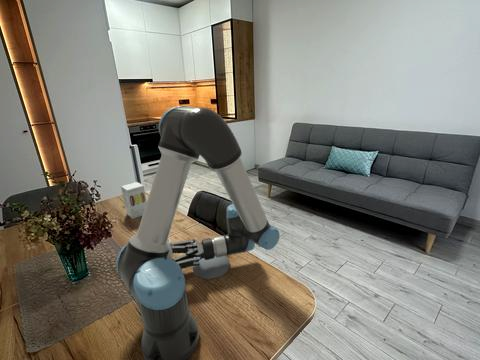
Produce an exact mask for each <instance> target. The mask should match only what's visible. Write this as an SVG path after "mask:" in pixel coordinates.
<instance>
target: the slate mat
mask: <svg viewBox="0 0 480 360" xmlns="http://www.w3.org/2000/svg"><path fill="white" fill-rule="evenodd" d="M199 263H200V265H199V266H192V272H193V274H194V275H195V276H196V277H197V278H199V279H202V280H215V279H218V278H221V277H222V276H224V275H225V274H226V273H227V272H228V270H229V269H230V260H229V257H228V256H222V257H218V258H216V256H215V257H214V259H209V260H205V259H204V258H202V259H201V260H200V261H199Z"/></svg>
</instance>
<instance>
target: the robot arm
mask: <svg viewBox="0 0 480 360" xmlns="http://www.w3.org/2000/svg"><path fill="white" fill-rule="evenodd" d="M158 132H159V135H160V140H159V143H158V146H157V147H158V149H159V151H160V154H161V157H160V159H159V162H158V165H157V169H156V172H155V175H154V179H153V181H152V185H151V188H150V192H149V194H148V198H147V199H146V201H147V204H146V207H145V210H144V213H143V216H141V221H140V223H139V226H138V230H137V233H136V234H134V235H132V236H131V237H129V240H128V243H127V244H126V245H124V246H122V248H121V249H120V250H119V252H118V255H117V257H116V268H117V272H118V275H119V277H120V279H121V280H122V281H123V283H124V285H125V286H126V288H127V290H128V291H129V292H130V294H131V296H132V298H133V299H134V302H135V304H136V305H137V307H138V310H139V313H140V316H141V320H142V325H143V329H142V330H143V331H142V336H141V341H140V342H141V343H140V348H141V351H142V352H141V353H142V355H143V359H144V360H186V359H187V360H188V359H189V358H190V357H192V355H193V354H194V352H195V351H196V349H197V346H198V345H199V340H200V330H199V325H198V323H197V320H196V319H195V318H194V316H193V315H192V313H191V312H190V309H189V301H188V296H187V288H186V278H185V275H184V273H183V269H187V268H191V267H193V266H199V265H200V263H199V261H200V260H201V259H202V258H204V259H205V260H209V259H214V257H215V256H216V258H218V257H222V256H226V257H228V256H231V255H236V254H242V253H243V254H244V253H247V252H249V251H252V250H254V249H255V246H256V245H257V246H258V247H260V248H263V249H264V250H266V251H270V250H272V249H274V248H275V247H276V245H278V243H279V240H280V231H279V230H278V228H276V227H274V225H271V224H270V223H269V220H268V218H267V216H266V214H265V212H264V209H263V207H262V205H261V202H260V200H259V198H258V195H257V193H256V191H255V189H254V186H253V183H252V182H251V179H250V178H249V175H248V172H247V170H246V168H245V165H244V163H243V162H242V159H241V157H242V154H243V152H242V149H241V147H240V145H239V142H238V140H237V138H236V136H235V135H234V133H233V131H232V129H231V128H230V127H229V125H228V124H227V121H226V120H224V118H223V117H222V116H221V115H220V114H218V112H216V111H215V110H213V109H210V108H208V107H203V106H201V107H198V106H197V107H195V106H187V105H180V106H179V105H178V106H174V107H171V108H169V109H168V110H166V111H165V112H164V113H163V114H162V115H161V117H160V119H159V123H158ZM199 157H201V158H202V159H203V160H204V161H205V162H206V165H207V166H208V168H209V169H210V170H213V171H215V173H216V175H217V177H218V179H219V181H220V182H221V184H222V186H223V188H224V190H225V192H226V194H227V196H228V198H229V200H230V201H231V204H229V205H228V206H227V207H226V224H227V225H226V226H227V234H226V235H219V236H213V237H212V238H210V237H209V238H204V239H202V240H201V242H197V241H196V239H195V238H192V239H189V240H183V241H182V240H181V241H176V242H171V245H172V253H173V254H181V255H180V256H177V257H173V259H172V260H171V259H167V256H168V253H169V249H170V245H169V244H168V242H167V238H169V236H170V232H171V230H172V229H171V228H172V226H173V223H174V220H175V217H176V213H177V209H178V207H179V203H180V200H181V198H182V197H181V196H182V195H183V190H184V189H185V188H184V187H185V186H186V185H185V184H186V181H187V178H188V175H189V171H190V168H191V165H192V164H193V163H195V162H197V161H199ZM166 259H167V260H166Z"/></svg>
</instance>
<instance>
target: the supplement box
mask: <svg viewBox="0 0 480 360" xmlns="http://www.w3.org/2000/svg"><path fill="white" fill-rule="evenodd" d="M120 188H121V189H120V190H121V194H122V199H123V203H124V206H125V207H124V208H125V212H126V215H127V216H129V217H130V218H131V220H134V219H137V218H140V217H142V216H143V213H144V210H145V207H146V204H147V197H146V196H147V195H146V190H145V186H144V184H142V183H140V182H138V181H135V182H132V183H129V184H125V185H120Z"/></svg>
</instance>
